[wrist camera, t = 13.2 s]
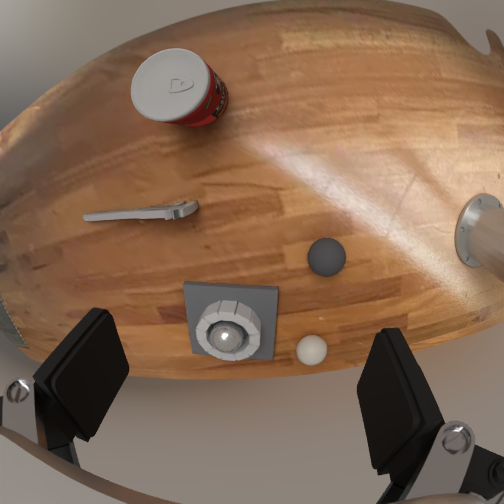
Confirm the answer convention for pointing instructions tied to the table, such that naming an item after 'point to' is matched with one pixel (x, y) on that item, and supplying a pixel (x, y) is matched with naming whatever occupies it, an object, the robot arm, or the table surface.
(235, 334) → the steel ball
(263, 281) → the table surface
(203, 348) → the housing
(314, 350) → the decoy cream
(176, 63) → the canned food
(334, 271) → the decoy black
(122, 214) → the caliper
